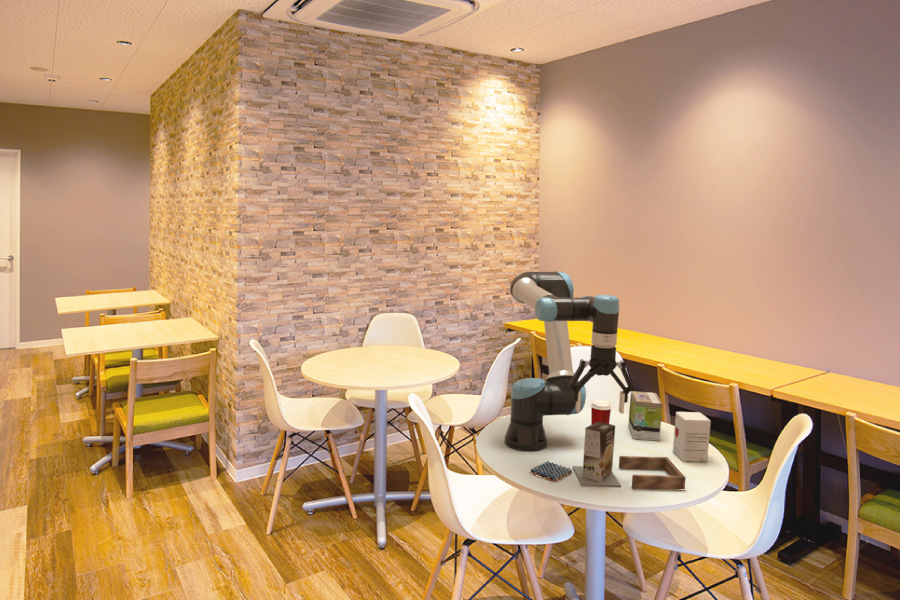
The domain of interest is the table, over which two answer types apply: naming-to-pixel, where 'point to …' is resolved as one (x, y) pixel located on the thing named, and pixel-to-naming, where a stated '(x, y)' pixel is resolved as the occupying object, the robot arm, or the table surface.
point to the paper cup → (600, 412)
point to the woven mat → (551, 471)
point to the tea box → (645, 415)
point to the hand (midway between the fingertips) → (599, 411)
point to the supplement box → (691, 436)
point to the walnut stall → (653, 481)
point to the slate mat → (607, 482)
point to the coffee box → (598, 451)
